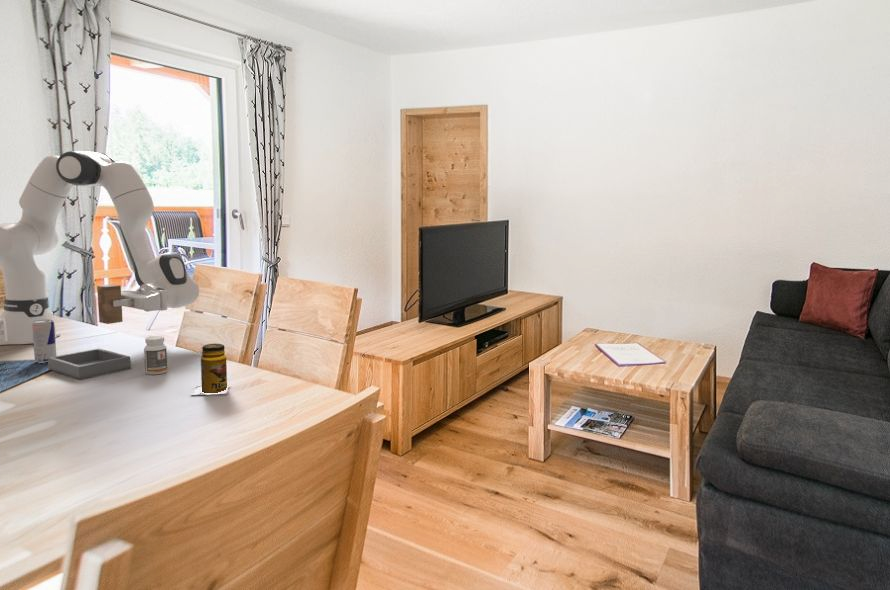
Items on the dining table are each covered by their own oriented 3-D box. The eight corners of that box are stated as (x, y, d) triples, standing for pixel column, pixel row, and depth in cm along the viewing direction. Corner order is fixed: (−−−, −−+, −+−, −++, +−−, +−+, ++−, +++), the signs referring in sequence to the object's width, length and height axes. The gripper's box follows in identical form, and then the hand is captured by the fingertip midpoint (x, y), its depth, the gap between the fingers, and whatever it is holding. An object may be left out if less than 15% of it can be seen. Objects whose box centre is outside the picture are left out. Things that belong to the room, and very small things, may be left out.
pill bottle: (172, 371, 167) (171, 337, 166) (154, 376, 162) (153, 340, 161) (158, 368, 170) (156, 334, 168) (140, 373, 165) (138, 338, 163)
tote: (48, 369, 165) (47, 357, 165) (99, 359, 177) (98, 348, 177) (79, 379, 157) (78, 367, 157) (130, 368, 169) (130, 356, 168)
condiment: (226, 395, 148) (225, 348, 147) (190, 396, 147) (188, 349, 145) (230, 386, 155) (229, 341, 154) (195, 387, 154) (194, 342, 152)
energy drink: (61, 359, 176) (58, 319, 174) (47, 364, 171) (44, 323, 169) (44, 358, 177) (41, 318, 175) (30, 363, 171) (27, 322, 170)
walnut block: (99, 322, 178) (97, 285, 176) (114, 320, 182) (112, 284, 180) (107, 324, 176) (105, 287, 174) (122, 321, 180) (120, 285, 178)
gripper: (130, 284, 194) (87, 288, 182) (169, 290, 183) (125, 295, 172) (131, 303, 195) (88, 309, 183) (170, 310, 184) (126, 317, 173)
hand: (106, 302), depth 177 cm, fingers closed on walnut block, 4 cm apart
